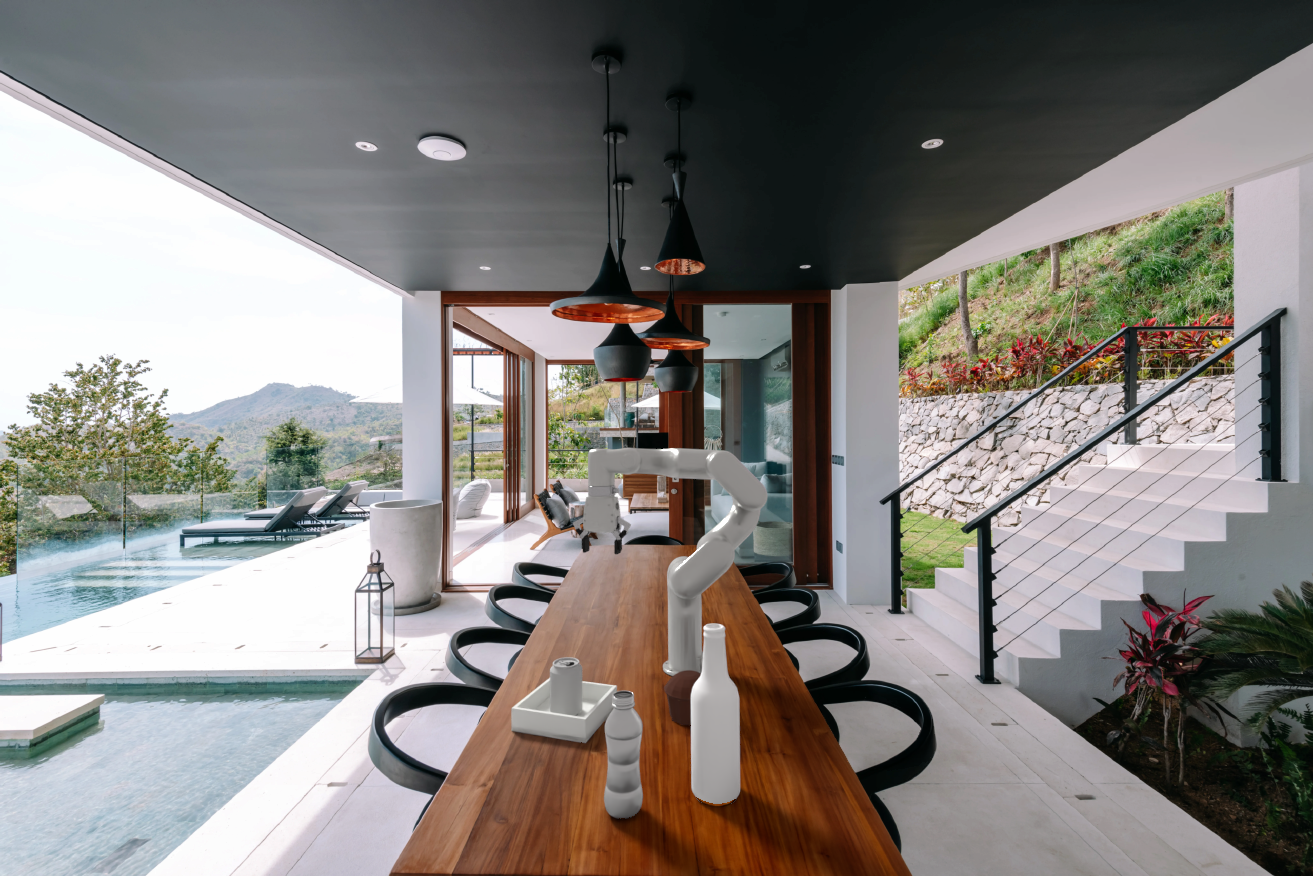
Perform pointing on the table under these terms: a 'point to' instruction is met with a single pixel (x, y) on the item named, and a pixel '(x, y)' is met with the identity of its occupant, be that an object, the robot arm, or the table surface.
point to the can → (566, 686)
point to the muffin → (681, 695)
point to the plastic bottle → (623, 757)
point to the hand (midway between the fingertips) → (601, 552)
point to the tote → (540, 721)
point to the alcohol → (715, 725)
